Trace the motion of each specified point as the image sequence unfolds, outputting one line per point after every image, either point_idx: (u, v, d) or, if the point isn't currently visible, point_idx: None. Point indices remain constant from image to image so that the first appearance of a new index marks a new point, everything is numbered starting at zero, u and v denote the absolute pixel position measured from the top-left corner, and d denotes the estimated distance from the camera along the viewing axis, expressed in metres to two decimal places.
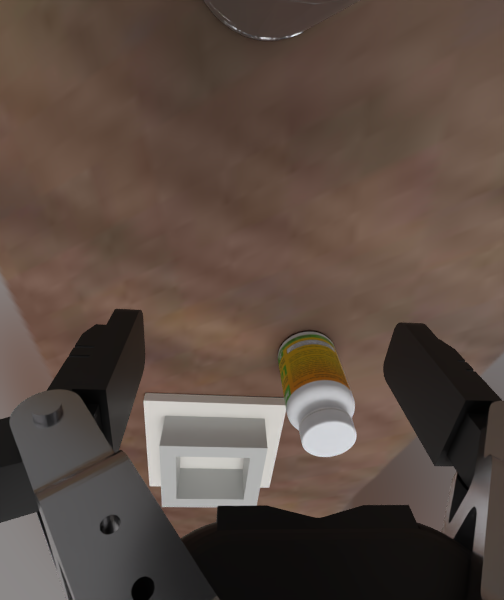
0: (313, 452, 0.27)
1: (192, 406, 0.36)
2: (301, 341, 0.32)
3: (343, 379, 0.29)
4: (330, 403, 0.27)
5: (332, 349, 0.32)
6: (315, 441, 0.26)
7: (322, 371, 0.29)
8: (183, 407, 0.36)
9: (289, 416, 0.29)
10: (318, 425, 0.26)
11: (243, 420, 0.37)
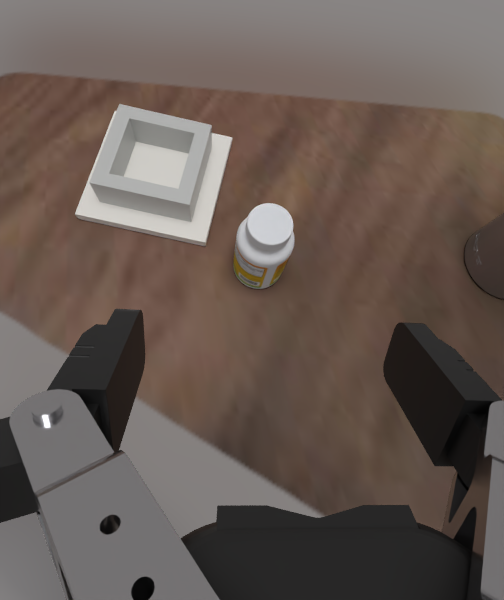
0: (256, 210, 0.31)
1: (218, 169, 0.42)
2: None
3: (283, 264, 0.34)
4: None
5: (276, 278, 0.38)
6: (270, 213, 0.31)
7: None
8: (218, 162, 0.42)
9: None
10: (289, 215, 0.31)
11: (196, 203, 0.40)
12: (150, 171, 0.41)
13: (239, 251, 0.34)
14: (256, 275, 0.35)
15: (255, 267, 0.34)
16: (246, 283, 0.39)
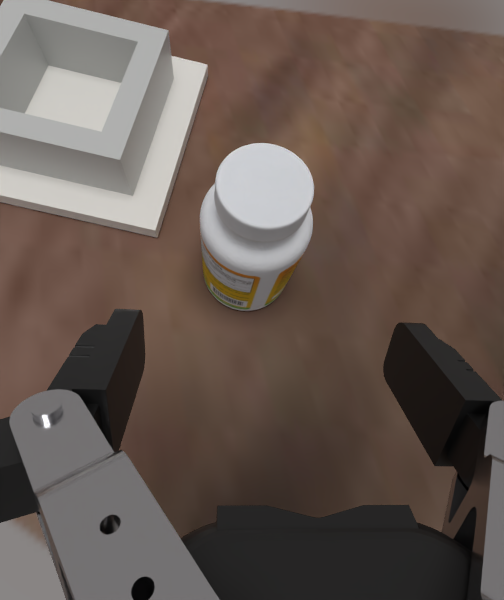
0: (235, 156, 0.15)
1: (183, 111, 0.26)
2: None
3: (290, 270, 0.18)
4: None
5: (277, 293, 0.22)
6: (266, 162, 0.15)
7: None
8: (184, 101, 0.26)
9: None
10: (306, 168, 0.15)
11: (141, 164, 0.24)
12: (68, 112, 0.25)
13: (205, 244, 0.17)
14: (241, 289, 0.19)
15: (236, 276, 0.17)
16: (224, 302, 0.22)
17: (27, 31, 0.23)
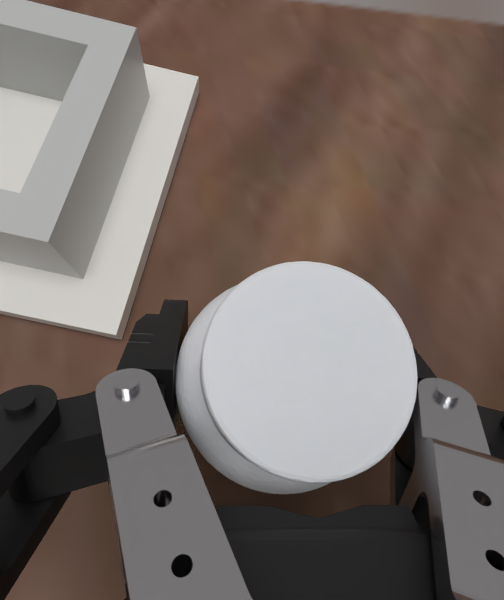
0: (245, 298, 0.07)
1: (163, 146, 0.18)
2: None
3: None
4: None
5: None
6: (312, 309, 0.07)
7: None
8: (164, 131, 0.18)
9: None
10: (399, 320, 0.07)
11: (97, 229, 0.16)
12: None
13: None
14: None
15: None
16: None
17: None
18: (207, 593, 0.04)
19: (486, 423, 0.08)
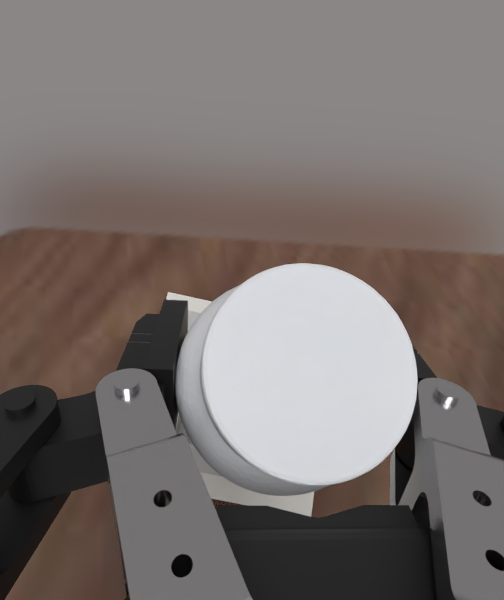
0: (245, 300, 0.07)
1: None
2: None
3: None
4: None
5: None
6: (312, 311, 0.07)
7: None
8: None
9: None
10: (398, 322, 0.07)
11: None
12: None
13: None
14: None
15: None
16: None
17: None
18: (207, 594, 0.04)
19: (486, 423, 0.08)
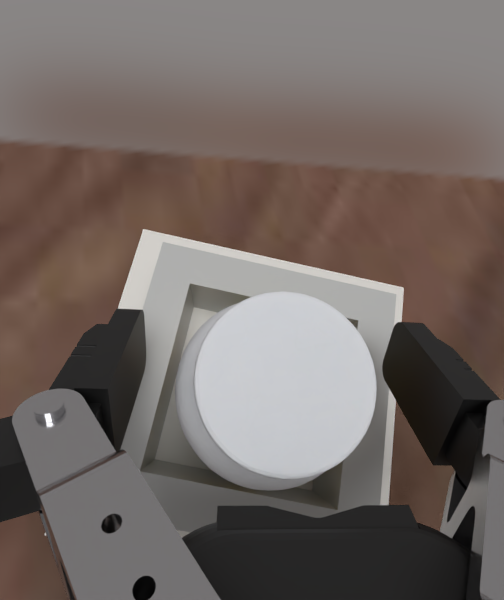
0: (231, 324, 0.08)
1: None
2: None
3: None
4: None
5: None
6: (288, 333, 0.08)
7: None
8: None
9: None
10: (361, 341, 0.08)
11: None
12: None
13: None
14: None
15: None
16: None
17: (188, 299, 0.15)
18: None
19: None
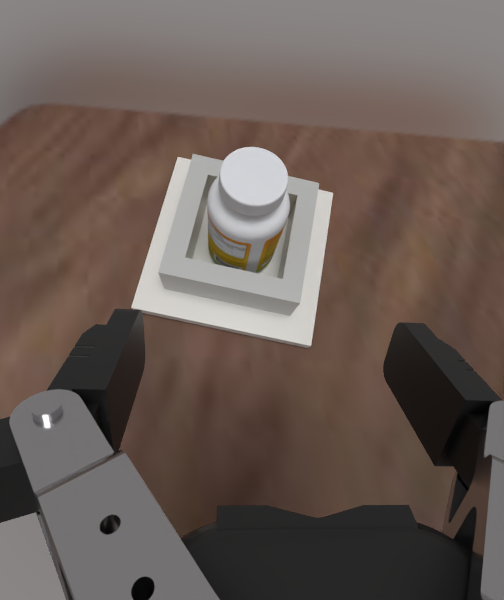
0: (233, 156, 0.21)
1: (319, 237, 0.31)
2: None
3: (273, 240, 0.24)
4: None
5: (265, 262, 0.28)
6: (255, 160, 0.21)
7: None
8: (319, 228, 0.32)
9: None
10: (283, 165, 0.21)
11: None
12: None
13: (211, 219, 0.24)
14: (237, 255, 0.25)
15: (233, 243, 0.24)
16: None
17: (206, 185, 0.29)
18: None
19: None
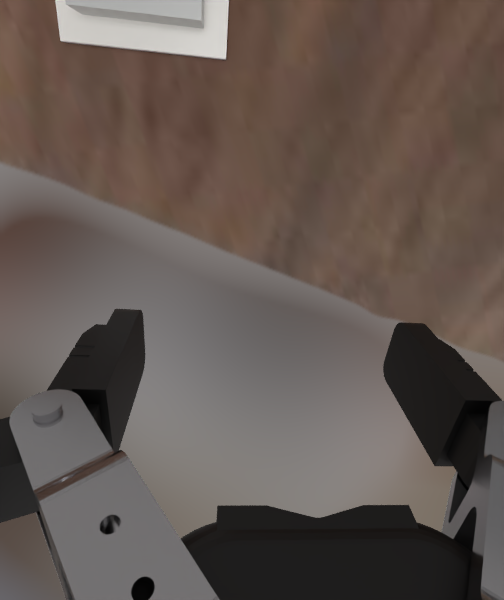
0: None
1: None
2: None
3: None
4: None
5: None
6: None
7: None
8: None
9: None
10: None
11: None
12: None
13: None
14: None
15: None
16: None
17: None
18: None
19: None
